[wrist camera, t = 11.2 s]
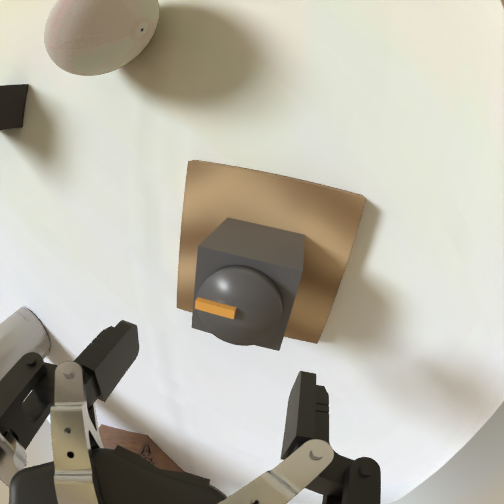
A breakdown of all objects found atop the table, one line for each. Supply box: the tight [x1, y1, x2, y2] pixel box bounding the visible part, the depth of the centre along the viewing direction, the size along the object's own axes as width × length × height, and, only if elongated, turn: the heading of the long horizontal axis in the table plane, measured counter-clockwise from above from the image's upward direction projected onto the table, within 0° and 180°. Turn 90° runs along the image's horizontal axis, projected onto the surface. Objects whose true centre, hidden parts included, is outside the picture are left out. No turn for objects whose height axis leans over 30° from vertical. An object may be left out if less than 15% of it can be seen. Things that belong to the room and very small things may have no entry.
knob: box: [192, 218, 305, 351], centre depth 20 cm, size 6×6×8 cm
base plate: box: [177, 160, 366, 344], centre depth 24 cm, size 14×14×2 cm
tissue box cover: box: [99, 424, 184, 472], centre depth 45 cm, size 26×14×10 cm, turn 17°
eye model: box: [44, 0, 159, 76], centre depth 14 cm, size 10×10×10 cm
